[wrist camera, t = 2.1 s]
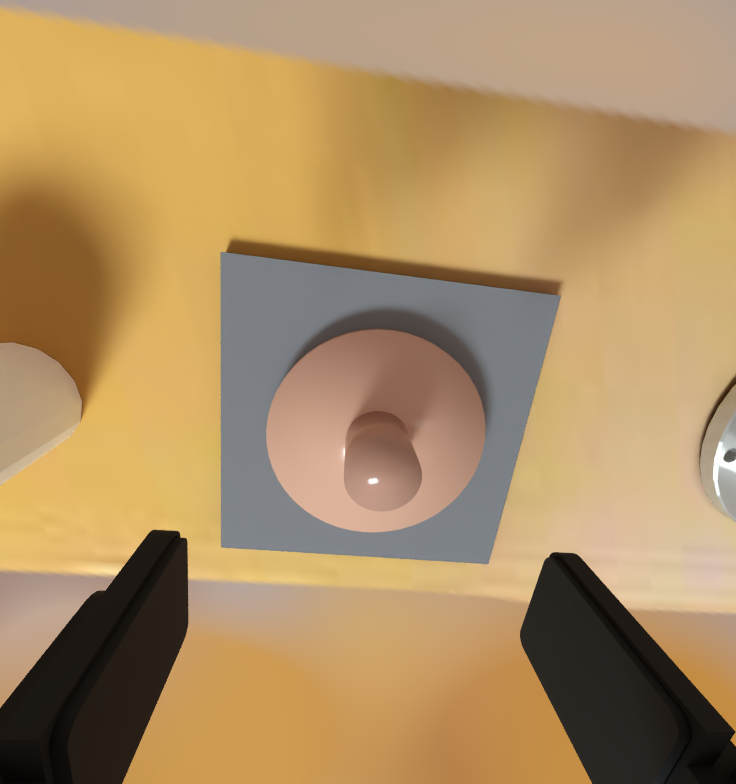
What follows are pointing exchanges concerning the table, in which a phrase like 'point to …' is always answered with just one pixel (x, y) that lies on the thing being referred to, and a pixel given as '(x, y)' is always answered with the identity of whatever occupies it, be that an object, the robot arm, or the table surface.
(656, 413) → the table surface
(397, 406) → the lid
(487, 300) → the mat
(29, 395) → the white cup
